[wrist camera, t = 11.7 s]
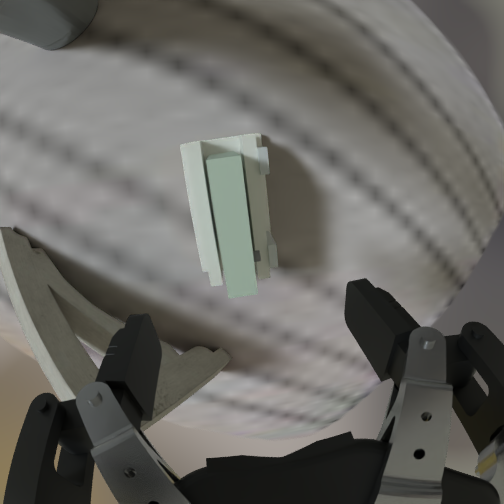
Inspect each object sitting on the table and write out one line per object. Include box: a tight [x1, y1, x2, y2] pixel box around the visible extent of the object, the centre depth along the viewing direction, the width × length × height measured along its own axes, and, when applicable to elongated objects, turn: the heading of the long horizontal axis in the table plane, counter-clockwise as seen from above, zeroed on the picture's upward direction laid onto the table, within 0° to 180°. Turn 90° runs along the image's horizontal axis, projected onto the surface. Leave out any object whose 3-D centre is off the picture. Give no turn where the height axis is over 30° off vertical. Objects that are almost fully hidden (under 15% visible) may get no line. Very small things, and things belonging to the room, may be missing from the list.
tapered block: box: [206, 151, 261, 298], centre depth 24 cm, size 11×3×8 cm, turn 6°
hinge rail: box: [180, 133, 278, 287], centre depth 26 cm, size 14×8×5 cm, turn 6°
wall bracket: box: [0, 227, 232, 431], centre depth 30 cm, size 22×4×30 cm
